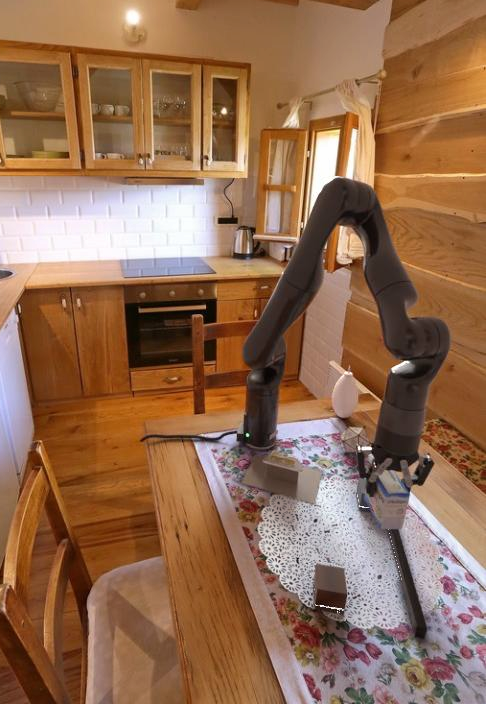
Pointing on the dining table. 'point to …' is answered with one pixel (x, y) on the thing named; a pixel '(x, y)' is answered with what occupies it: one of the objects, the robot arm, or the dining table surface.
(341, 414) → the air dust blower
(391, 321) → the robot arm
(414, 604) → the straightedge
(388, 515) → the medicine box
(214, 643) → the dining table surface
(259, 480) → the platform
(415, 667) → the dining table surface
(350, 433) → the beige icosahedron
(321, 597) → the walnut block
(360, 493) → the slate block
